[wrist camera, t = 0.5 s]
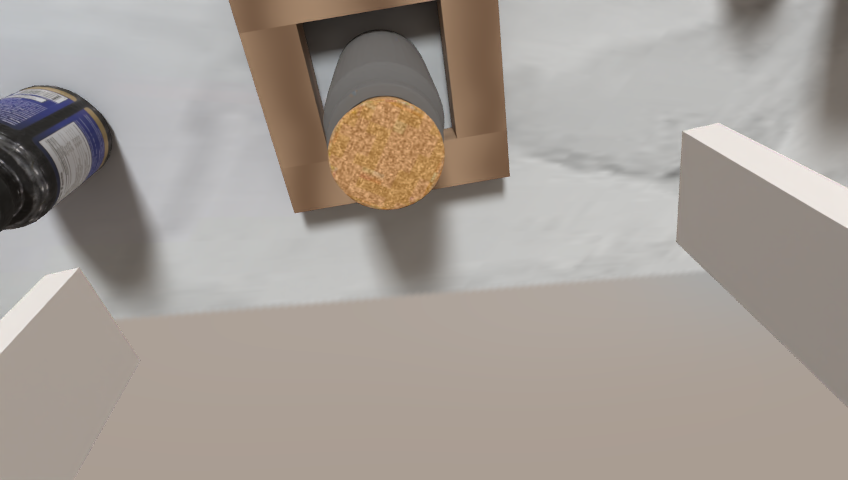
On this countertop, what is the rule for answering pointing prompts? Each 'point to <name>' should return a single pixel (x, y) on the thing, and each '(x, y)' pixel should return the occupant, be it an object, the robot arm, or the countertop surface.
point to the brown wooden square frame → (303, 111)
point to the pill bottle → (46, 150)
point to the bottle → (384, 122)
